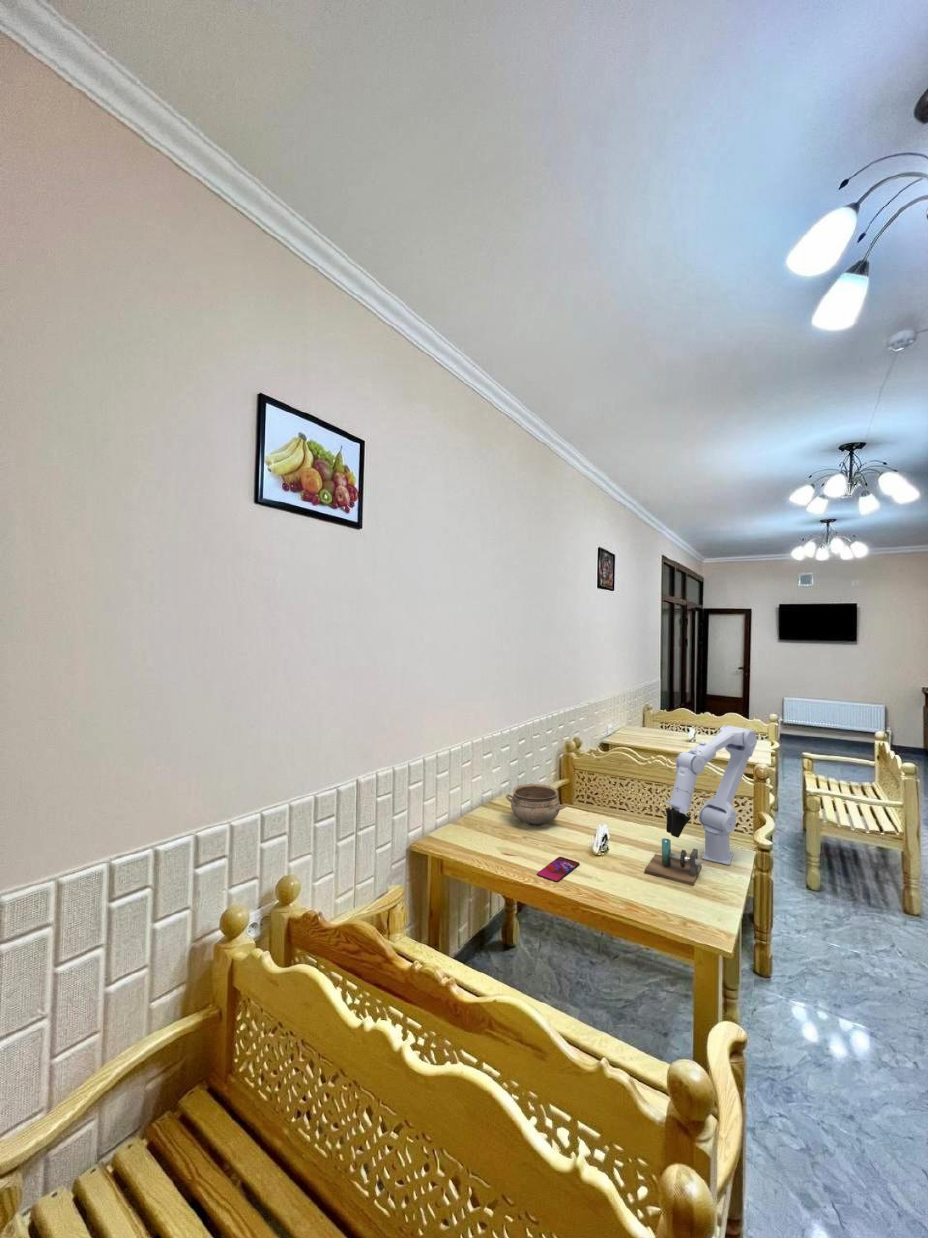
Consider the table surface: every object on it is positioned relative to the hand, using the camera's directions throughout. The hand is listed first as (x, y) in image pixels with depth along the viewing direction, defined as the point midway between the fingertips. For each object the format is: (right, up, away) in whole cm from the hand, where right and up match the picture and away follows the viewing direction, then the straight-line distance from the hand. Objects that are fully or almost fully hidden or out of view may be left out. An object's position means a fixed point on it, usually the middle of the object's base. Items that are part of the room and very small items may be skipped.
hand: (672, 834), depth 156 cm
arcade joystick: (+3, -10, 0) cm, 11 cm away
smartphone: (-34, -13, +3) cm, 37 cm away
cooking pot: (-36, -13, +41) cm, 56 cm away
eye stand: (+1, -12, +2) cm, 12 cm away
